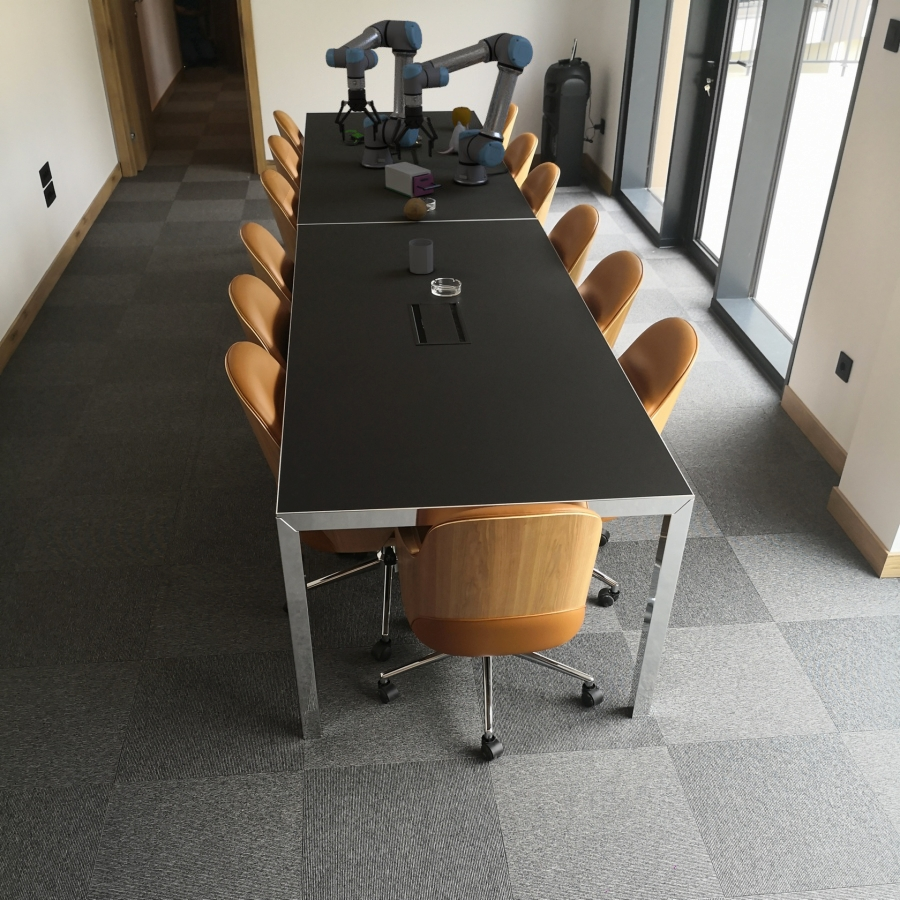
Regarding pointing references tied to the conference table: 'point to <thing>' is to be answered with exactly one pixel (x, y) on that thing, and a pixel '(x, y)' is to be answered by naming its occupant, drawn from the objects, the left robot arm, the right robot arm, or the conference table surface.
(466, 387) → the conference table surface
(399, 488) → the conference table surface
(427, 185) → the drawer
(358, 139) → the green irregular shape
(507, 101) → the right robot arm
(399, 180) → the cabinet
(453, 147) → the toy
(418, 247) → the cup
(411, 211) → the potato
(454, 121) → the apple
